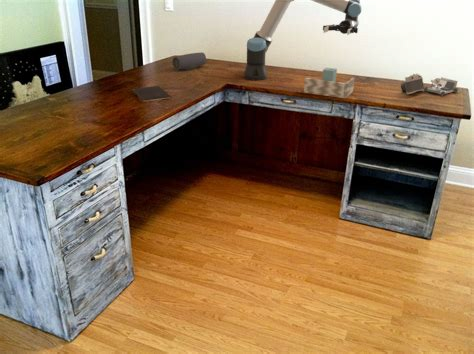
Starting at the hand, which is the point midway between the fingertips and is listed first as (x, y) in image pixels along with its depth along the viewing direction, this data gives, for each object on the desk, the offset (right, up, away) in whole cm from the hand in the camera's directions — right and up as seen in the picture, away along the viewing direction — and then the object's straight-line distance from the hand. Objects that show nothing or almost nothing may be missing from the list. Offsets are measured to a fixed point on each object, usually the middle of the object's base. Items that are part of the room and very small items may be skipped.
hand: (336, 31), depth 244 cm
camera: (+44, -33, +7) cm, 56 cm away
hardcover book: (-103, -37, -3) cm, 110 cm away
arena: (-3, -33, +6) cm, 34 cm away
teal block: (-4, -32, +4) cm, 33 cm away
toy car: (+61, -33, +8) cm, 70 cm away
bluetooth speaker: (-88, -8, +55) cm, 104 cm away
